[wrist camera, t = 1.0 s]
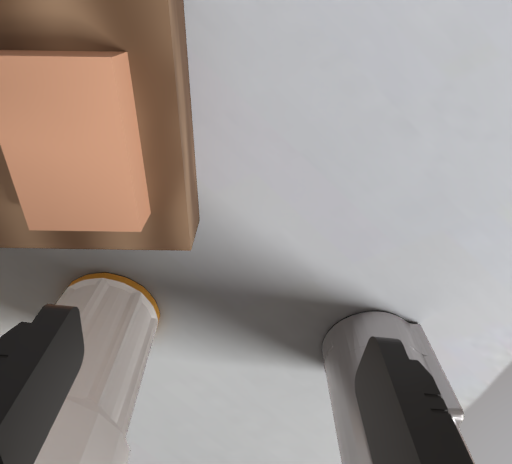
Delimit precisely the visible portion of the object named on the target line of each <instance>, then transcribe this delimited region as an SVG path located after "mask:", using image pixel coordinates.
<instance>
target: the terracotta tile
mask: <svg viewBox="0 0 512 464" xmlns="http://www.w3.org/2000/svg"><path fill="white" fill-rule="evenodd" d="M0 145H1V148H2V151H3V154H4V157H5V160H6V163H7V166H8V169H9V172H10V175H11V178H12V181H13V184H14V187H15V190H16V193H17V196H18V199H19V202H20V204H21V207H22V210H23V213H24V216H25V219H26V222H27V225H28V228H29V230H43V231H111V232H141V231H142V229H143V227H144V225H145V223H146V221H147V220H148V218H149V216H150V214H151V211H150V204H149V197H148V190H147V183H146V177H145V170H144V163H143V156H142V149H141V142H140V135H139V129H138V122H137V115H136V108H135V101H134V94H133V87H132V81H131V74H130V67H129V60H128V53H127V52H117V51H37V50H0Z"/></svg>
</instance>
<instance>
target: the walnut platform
mask: <svg viewBox="0 0 512 464" xmlns="http://www.w3.org/2000/svg"><path fill="white" fill-rule="evenodd" d="M0 50H37V51H117V52H127V53H128V60H129V67H130V74H131V81H132V87H133V94H134V101H135V108H136V115H137V122H138V129H139V135H140V142H141V149H142V156H143V163H144V170H145V177H146V183H147V190H148V197H149V204H150V211H151V214H150V216H149V218H148V220H147V221H146V223H145V225H144V227H143V229H142V231H141V232H111V231H43V230H29V228H28V225H27V222H26V219H25V216H24V213H23V210H22V207H21V204H20V202H19V199H18V196H17V193H16V190H15V187H14V184H13V181H12V178H11V175H10V172H9V169H8V166H7V163H6V160H5V157H4V154H3V151H2V148H1V145H0V248H54V249H121V250H187V251H191V249H192V245H193V241H194V238H195V234H196V231H197V227H198V224H199V206H198V193H197V179H196V166H195V152H194V139H193V125H192V111H191V98H190V84H189V71H188V57H187V44H186V30H185V17H184V3H183V0H0Z"/></svg>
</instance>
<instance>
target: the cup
mask: <svg viewBox="0 0 512 464" xmlns="http://www.w3.org/2000/svg"><path fill="white" fill-rule="evenodd" d="M55 305H64V306H74V307H78V309H79V312H80V318H81V325H82V333H83V340H84V357H83V362H82V365H81V368H80V370H79V372H78V374H77V377H76V379H75V381H74V383H73V385H72V387H71V389H70V391H69V393H68V395H67V397H66V399H65V401H64V403H63V405H62V407H61V409H60V411H59V413H58V415H57V417H56V419H55V422H54V424H53V426H52V428H51V430H50V432H49V434H48V436H47V438H46V440H45V442H44V444H43V446H42V448H41V450H40V452H39V454H38V456H37V458H36V460H35V462H34V464H128V460H129V455H130V451H131V450H130V448H129V445H128V443H127V441H126V435H127V431H128V427H129V424H130V420H131V417H132V413H133V410H134V406H135V402H136V399H137V395H138V392H139V388H140V384H141V381H142V377H143V374H144V370H145V367H146V363H147V359H148V356H149V352H150V349H151V345H152V341H153V338H154V334H155V332H156V329H157V326H158V322H159V318H160V313H159V309H158V306H157V304H156V302H155V300H154V298H153V297H152V296H151V295H150V293H149V292H148V291H147V290H146V289H145V288H144V287H143V286H141V285H139V284H138V283H136V282H134V281H132V280H130V279H128V278H126V277H122V276H119V275H115V274H110V273H95V274H88V275H85V276H83V277H80V278H78V279H76V280H74V281H72V282H71V284H70V285H69V286H68V288H67V289H66V290H65V292H64V293H63V294H62V296H61V297H60V298H59V300H58V301H57V303H56V304H55Z"/></svg>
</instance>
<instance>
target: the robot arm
mask: <svg viewBox="0 0 512 464" xmlns="http://www.w3.org/2000/svg"><path fill="white" fill-rule="evenodd" d="M322 353H323V359H324V367H325V372H326V376H327V382H328V388H329V394H330V399H331V405H332V411H333V416H334V422H335V428H336V433H337V439H338V445H339V450H340V456H341V462H342V464H475V462H474V460H473V458H472V456H471V454H470V451H469V449H468V447H467V445H466V443H465V441H464V439H463V437H462V434H461V432H460V430H459V427H460V425H461V423H462V421H463V419H464V412H463V409H462V407H461V405H460V403H459V401H458V399H457V397H456V395H455V393H454V391H453V389H452V387H451V385H450V383H449V381H448V379H447V377H446V375H445V373H444V371H443V369H442V367H441V365H440V363H439V361H438V359H437V357H436V355H435V353H434V351H433V349H432V347H431V345H430V343H429V341H428V339H427V337H426V335H425V333H424V331H423V329H422V327H421V325H420V324H411V323H408V322H406V321H405V320H404V319H402V318H401V317H398V316H396V315H393V314H390V313H385V312H364V313H359V314H356V315H352V316H350V317H348V318H345V319H343V320H341V321H340V322H339V323H337V324H336V325H334V326H333V327H332V328H331V329H330V331H329V332H328V333H327V335H326V336H325V338H324V341H323V345H322ZM83 357H84V340H83V333H82V325H81V318H80V312H79V309H78V307H74V306H64V305H53V304H46V305H45V306H44V307H43V308H42V309H41V310H40V312H39V313H38V315H37V316H36V318H35V319H34V320H33V322H32V323H27V322H21V323H19V324H18V325H16V326H15V327H14V328H12V329H11V330H9V331H8V332H7V333H5V334H4V335H2V336H1V338H0V464H34V462H35V460H36V458H37V456H38V454H39V452H40V450H41V448H42V446H43V444H44V442H45V440H46V438H47V436H48V434H49V432H50V430H51V428H52V426H53V424H54V422H55V419H56V417H57V415H58V413H59V411H60V409H61V407H62V405H63V403H64V401H65V399H66V397H67V395H68V393H69V391H70V389H71V387H72V385H73V383H74V381H75V379H76V377H77V374H78V372H79V370H80V368H81V365H82V362H83Z"/></svg>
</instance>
